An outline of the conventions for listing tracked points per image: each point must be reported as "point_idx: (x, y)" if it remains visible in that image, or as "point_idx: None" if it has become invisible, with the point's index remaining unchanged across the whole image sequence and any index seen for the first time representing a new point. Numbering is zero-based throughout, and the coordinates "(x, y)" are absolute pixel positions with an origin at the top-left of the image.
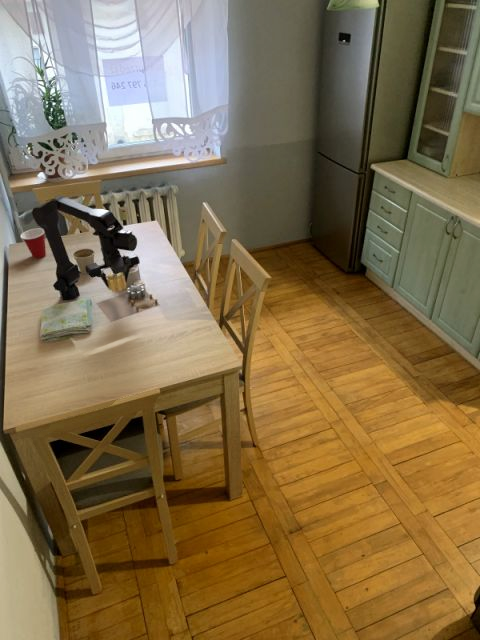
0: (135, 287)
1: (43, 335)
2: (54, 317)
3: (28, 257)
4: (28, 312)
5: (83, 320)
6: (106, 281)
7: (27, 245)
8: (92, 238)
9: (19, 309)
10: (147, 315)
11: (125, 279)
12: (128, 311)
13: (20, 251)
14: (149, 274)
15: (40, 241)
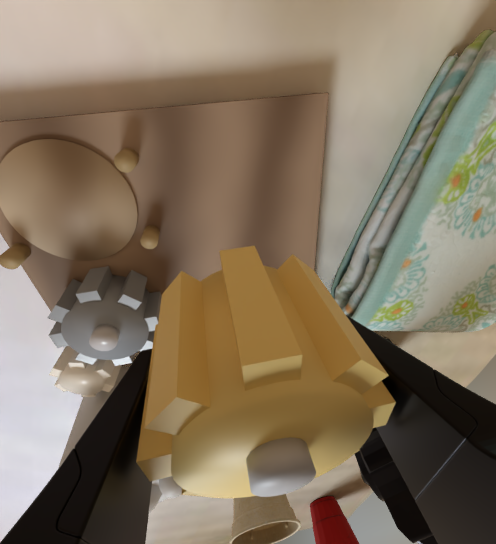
0: (101, 338)
1: None
2: None
3: (341, 498)
4: (480, 334)
5: (485, 142)
6: (405, 373)
7: (356, 538)
8: (199, 540)
9: (482, 353)
10: (65, 62)
11: (144, 378)
12: (193, 160)
13: (343, 510)
14: (45, 425)
15: None
